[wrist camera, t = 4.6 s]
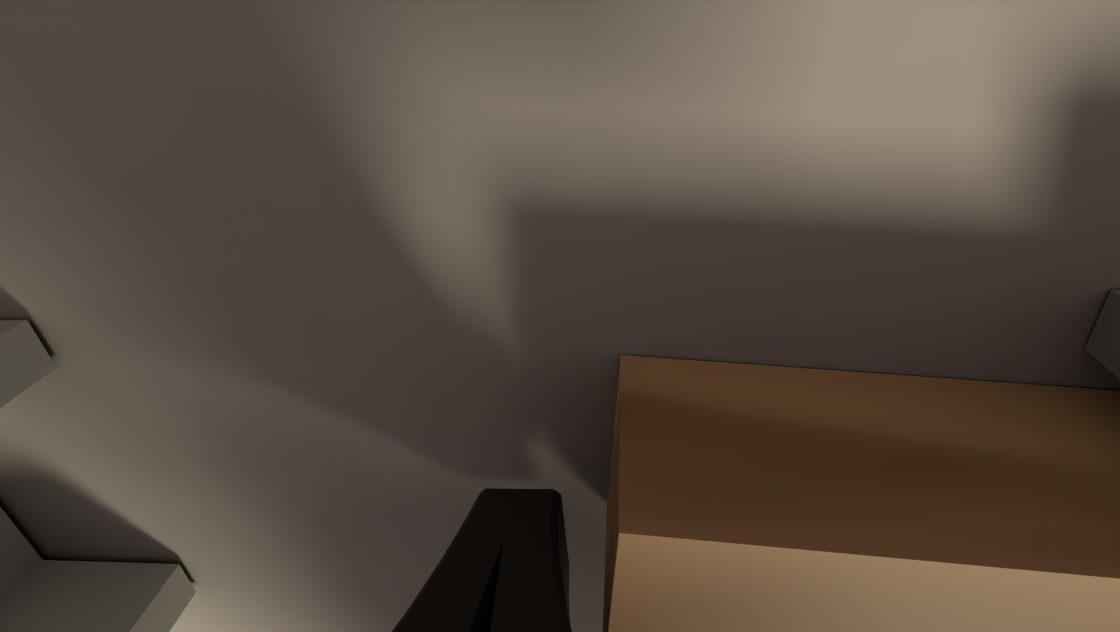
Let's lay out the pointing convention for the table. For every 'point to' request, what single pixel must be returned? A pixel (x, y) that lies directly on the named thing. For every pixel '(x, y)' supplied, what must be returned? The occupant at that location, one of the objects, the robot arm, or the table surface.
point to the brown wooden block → (858, 502)
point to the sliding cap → (73, 586)
